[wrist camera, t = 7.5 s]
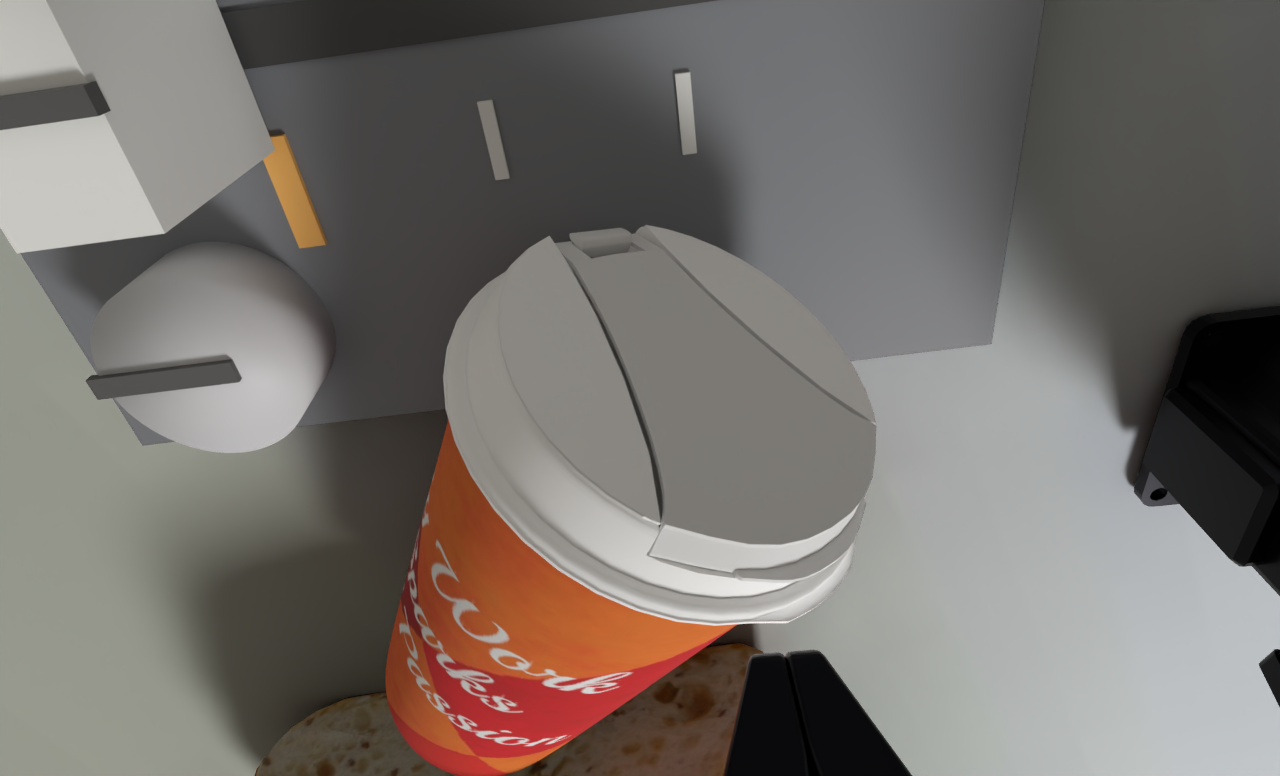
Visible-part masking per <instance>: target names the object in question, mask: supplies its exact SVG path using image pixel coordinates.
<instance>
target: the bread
mask: <svg viewBox="0 0 1280 776" xmlns="http://www.w3.org/2000/svg"><path fill="white" fill-rule="evenodd" d="M754 654H764V653H763V652H762V651H760V650H757V649H755V648H752V647H750V646H747V645H744V644H742V643H737V644H729V645H722V646H714V647H707V648H703V649H702V650H700V651H699V652H698V653H696V654H695V655H693V656H692V657H690V658H689V659H688V660H686V661H685V662H683V663H682V664H680V665H679V666H678V667H676V668H675V669H673V670H672V671H670V672H669V673H667V674H666V675H665V676H663V677H662V678H660V679H659V680H657V681H656V682H655V683H653V684H652V685H650V686H649V687H647V688H646V689H645V690H643V691H642V692H640V693H639V694H637V695H636V696H635V697H633V698H632V699H630V700H629V701H627V702H626V703H624V704H623V705H622V706H620V707H619V708H617V709H616V710H614V711H613V712H611V713H610V714H609V715H607V716H606V717H604V718H603V719H601V720H600V721H598V722H597V723H595V724H594V725H593V726H591V727H590V728H588V729H587V730H585V731H584V732H582V733H581V734H579V735H578V736H576V737H575V738H573V739H572V740H570V741H569V742H567V743H566V744H564V745H563V746H561V747H560V748H559V749H557V750H555V751H554V752H552V753H551V754H549V755H547V756H546V757H544V758H543V759H541V760H539V761H537V762H536V763H534V764H532V765H530V766H528V767H526V768H524V769H522V770H520V771H517V772H514V773H512V774H508V775H505V776H723V773H724V768H725V764H726V759H727V755H728V750H729V746H730V741H731V737H732V732H733V728H734V723H735V719H736V714H737V710H738V705H739V701H740V696H741V692H742V687H743V683H744V678H745V674H746V669H747V665H748V661H749V658H750V657H751V656H752V655H754ZM255 776H458V775H454V774H451V773H448V772H446V771H443V770H441V769H439V768H437V767H435V766H434V765H432V764H430V763H429V762H427V761H426V760H424V759H423V758H422V757H421V756H420V755H418V754H417V753H416V752H415V751H414V750H413V749H412V748H411V747H410V745H409V744H408V743H407V742H406V740H405V739H404V738H403V736H402V735H401V733H400V732H399V730H398V728H397V726H396V724H395V722H394V720H393V717H392V715H391V712H390V708H389V704H388V700H387V693H386V692H381V693H376V694H370V695H364V696H359V697H353V698H347V699H344V700H342V701H339V702H337V703H335V704H332V705H330V706H328V707H325V708H323V709H321V710H318V711H316V712H314V713H313V714H311V715H310V716H308V717H307V718H305V719H304V720H302V721H301V722H299V723H298V724H296V725H295V726H293V727H292V728H291V729H290V730H289V731H288V732H287V733H286V734H285V735H284V736H283V737H282V738H281V739H280V740H279V741H278V742H277V743H276V744H275V745H274V746H273V748H272V749H271V750H270V752H269V753H268V754H267V756H266V757H265V758H264V760H263V761H262V763H261V764H260V766H259V767H258V768H257V770H256V773H255Z"/></svg>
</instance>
